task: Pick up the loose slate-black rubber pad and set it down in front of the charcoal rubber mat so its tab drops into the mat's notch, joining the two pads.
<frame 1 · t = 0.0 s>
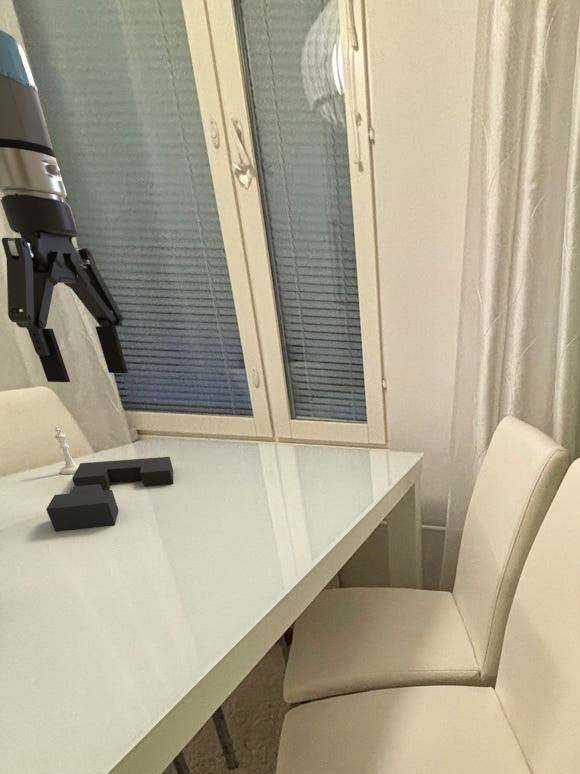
hand: (91, 377, 82), 24 cm above the table, tool pointing down, fingers open, 13 cm apart
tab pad: (88, 520, 99), on the table
chess piece: (73, 472, 128), on the table
notch mat: (128, 480, 122), on the table
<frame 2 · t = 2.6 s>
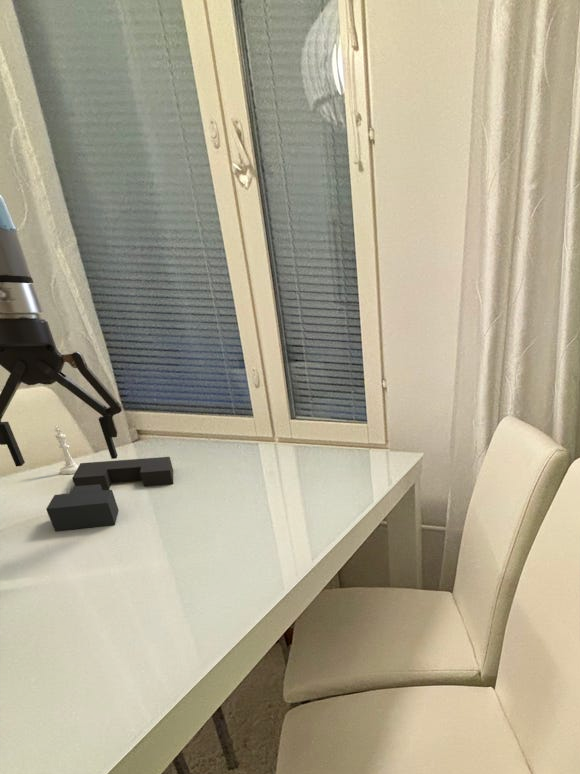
hand: (69, 461, 93), 11 cm above the table, tool pointing down, fingers open, 13 cm apart
nothing on the table moved.
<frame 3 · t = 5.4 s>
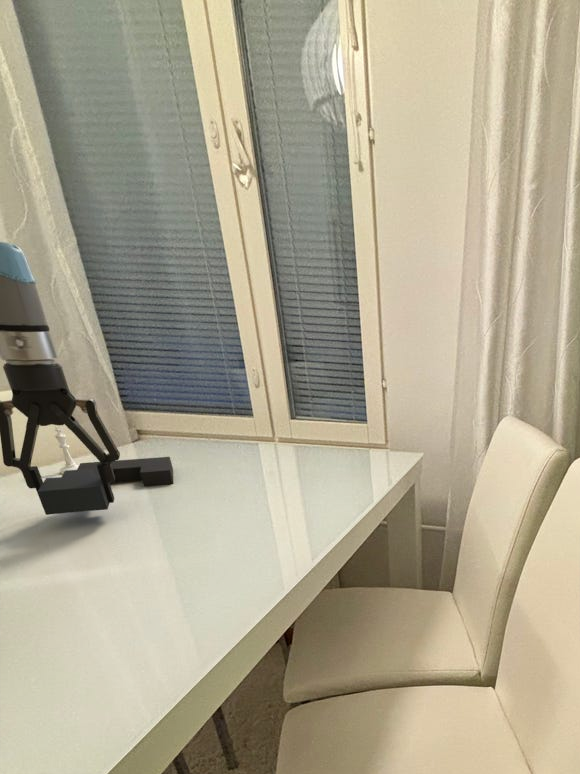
hand: (80, 503, 97), 3 cm above the table, tool pointing down, fingers closed on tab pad, 9 cm apart
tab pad: (80, 504, 97), point 3 cm above the table, touching gripper
everything else where it was.
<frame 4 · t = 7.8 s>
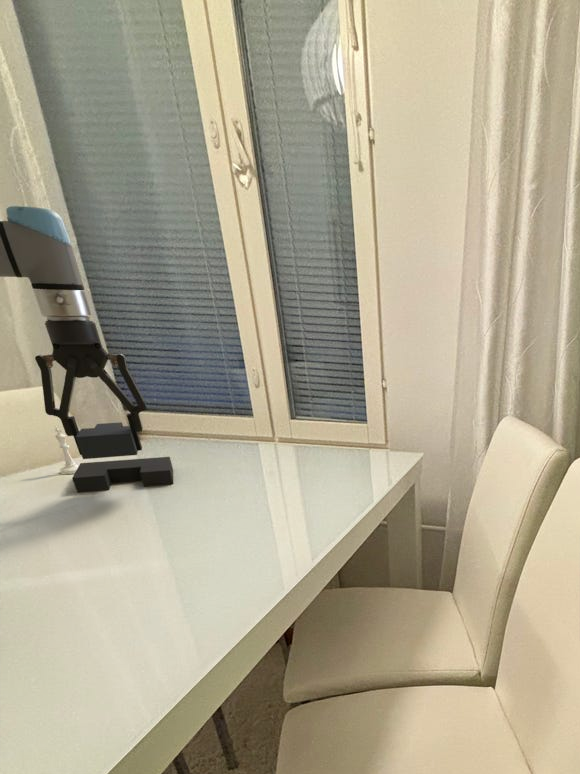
hand: (111, 451, 108), 9 cm above the table, tool pointing down, fingers closed on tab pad, 9 cm apart
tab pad: (112, 452, 108), point 9 cm above the table, touching gripper
everything else where it was.
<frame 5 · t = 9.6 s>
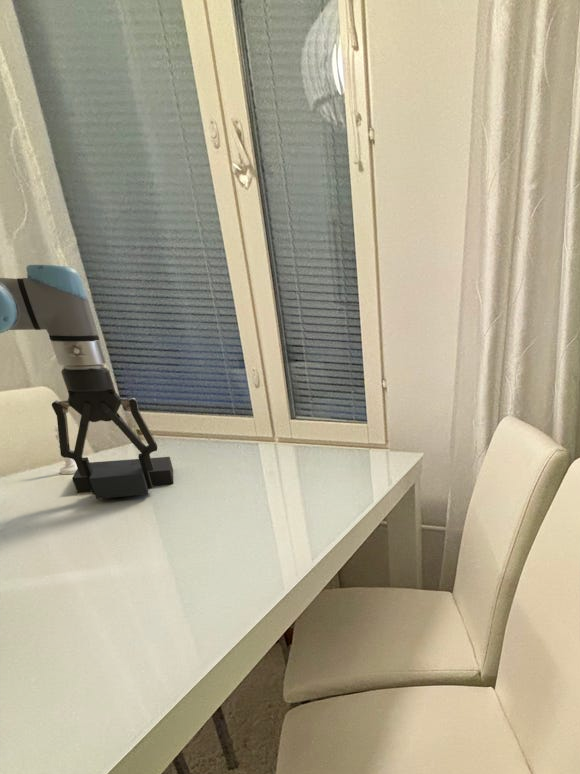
hand: (123, 489, 112), 1 cm above the table, tool pointing down, fingers closed on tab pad, 9 cm apart
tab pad: (124, 490, 112), point 1 cm above the table, touching gripper
everything else where it was.
when the fingers open (0 cm above the table, at t = 10.5 s): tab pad stays where it is, on the table.
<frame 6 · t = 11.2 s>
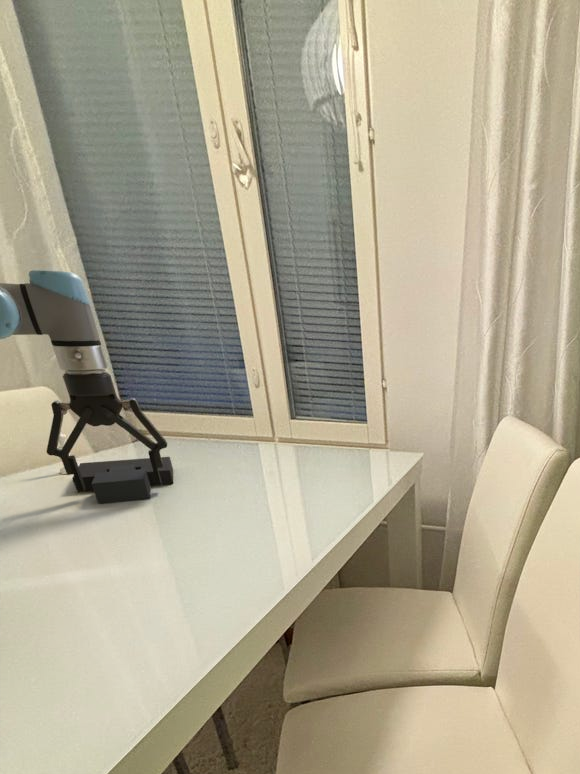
hand: (122, 487, 111), 2 cm above the table, tool pointing down, fingers open, 13 cm apart
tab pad: (125, 495, 112), on the table
everything else where it was.
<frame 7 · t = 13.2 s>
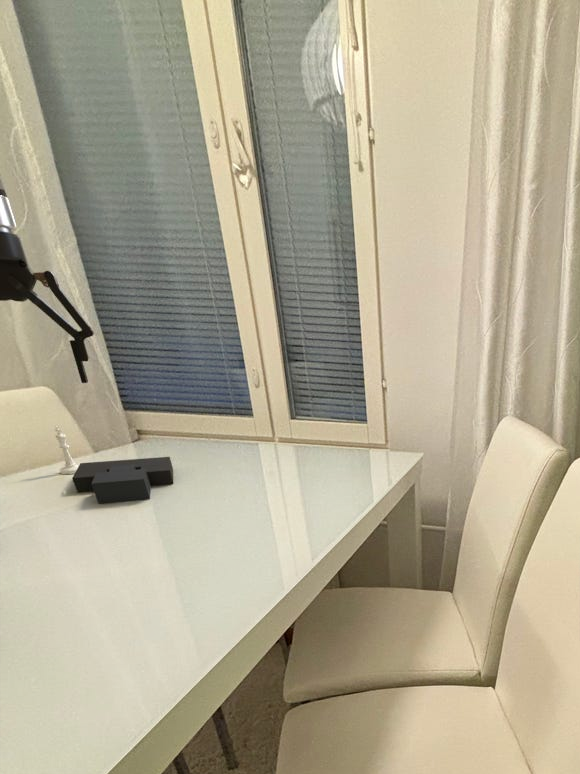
hand: (38, 382, 94), 22 cm above the table, tool pointing down, fingers open, 13 cm apart
nothing on the table moved.
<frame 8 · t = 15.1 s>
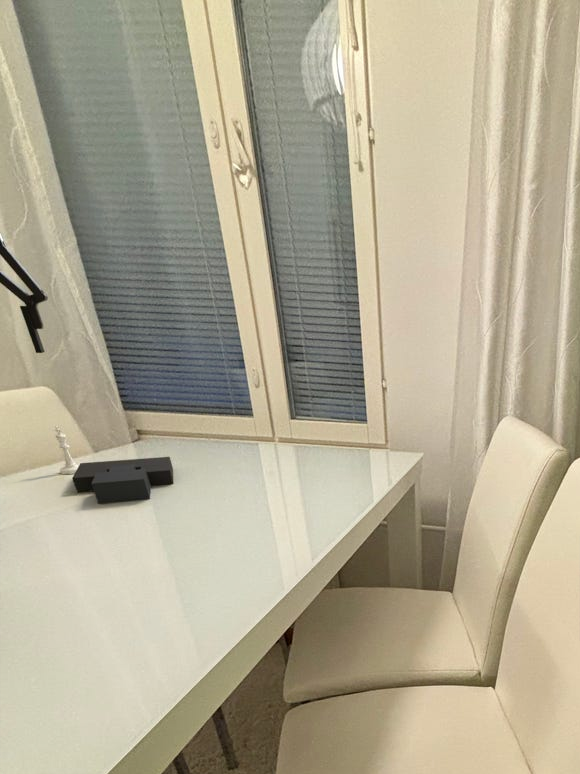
nothing on the table moved.
at the end: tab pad 0.4 cm from the target spot on the table beside the notch mat, on the table; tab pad tilted 0°; the gripper is holding nothing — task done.
